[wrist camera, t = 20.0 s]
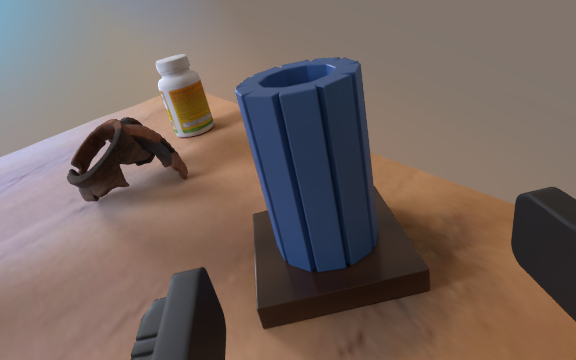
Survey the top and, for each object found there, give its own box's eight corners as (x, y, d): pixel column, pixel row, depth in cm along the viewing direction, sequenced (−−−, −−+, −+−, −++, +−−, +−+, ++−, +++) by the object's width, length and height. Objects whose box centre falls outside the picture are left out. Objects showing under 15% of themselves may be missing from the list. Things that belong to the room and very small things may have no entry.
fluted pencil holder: (348, 285, 19) (316, 96, 14) (258, 254, 23) (209, 95, 18) (394, 219, 23) (381, 54, 18) (311, 202, 27) (282, 60, 22)
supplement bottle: (222, 122, 52) (200, 50, 47) (197, 139, 48) (170, 62, 43) (194, 122, 54) (171, 54, 50) (168, 137, 51) (140, 66, 46)
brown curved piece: (200, 192, 36) (130, 143, 30) (130, 249, 37) (50, 212, 32) (184, 127, 44) (126, 80, 39) (127, 175, 46) (64, 136, 40)
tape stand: (430, 290, 20) (425, 122, 15) (263, 329, 20) (209, 172, 15) (376, 202, 28) (362, 75, 23) (257, 230, 28) (221, 108, 23)
